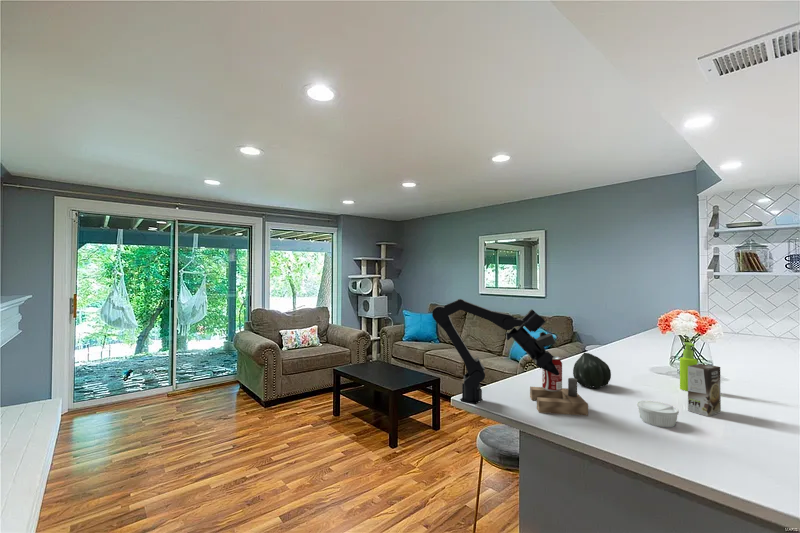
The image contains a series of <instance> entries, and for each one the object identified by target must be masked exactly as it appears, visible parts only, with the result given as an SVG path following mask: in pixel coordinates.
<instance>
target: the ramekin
mask: <svg viewBox="0 0 800 533" xmlns="http://www.w3.org/2000/svg"><path fill="white" fill-rule="evenodd" d="M636 405H637V409H638V413H639V418H640V419H641V420H642V421H643V423H645V424H648V425H650V426H653V427H654V426H655V427H658V428H673V427H675V425H676V424H677V419H678V415H679V412H680V411H679V409H678V408H677V407H676V406H674V405H671V404H668V403H665V402H661V401H654V400H640V401H637V404H636Z"/></svg>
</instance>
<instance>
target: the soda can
mask: <svg viewBox="0 0 800 533" xmlns="http://www.w3.org/2000/svg"><path fill="white" fill-rule="evenodd" d="M552 356H553V359H552V362H553V364H554V366H555V367H556V369H557V370H558V372H559V375H555V374H553V373H551V372H549V371H547V370H544V369H542V368H541V369H542V371H541V372H542V373H541V374H542V378H541V379H542V380H541V382H542V383H541V385H542V386H541V387H543V388H544V389H545V390H547V391H550V392H559V391H561V390H562V388H563V362H562V360H561V357H560V356H556V355H552Z"/></svg>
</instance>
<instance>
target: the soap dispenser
mask: <svg viewBox="0 0 800 533" xmlns="http://www.w3.org/2000/svg"><path fill="white" fill-rule="evenodd" d="M684 344H685V348H684V349H683V350H682V351H683V352H682V354H683V356H682V357H679V389H680V390H681V389H682V390H681V391H684V390H685V392H688V366H691V365H696V364H698V359H696V358H695V357H694V350H693V349H692V348H691V347H695V345H694V344H695V343H692V342H690V341H689V342H688V341H684Z"/></svg>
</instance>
